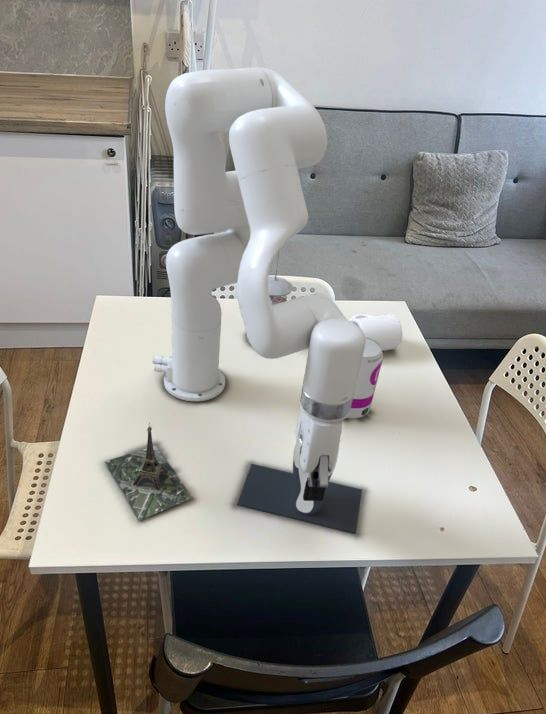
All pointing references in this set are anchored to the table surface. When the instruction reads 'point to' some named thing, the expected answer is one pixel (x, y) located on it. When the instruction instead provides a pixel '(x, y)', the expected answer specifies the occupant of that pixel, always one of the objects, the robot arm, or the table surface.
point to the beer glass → (303, 485)
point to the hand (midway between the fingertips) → (309, 482)
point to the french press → (278, 288)
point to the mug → (380, 329)
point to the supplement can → (366, 379)
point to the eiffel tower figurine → (148, 480)
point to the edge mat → (271, 496)
